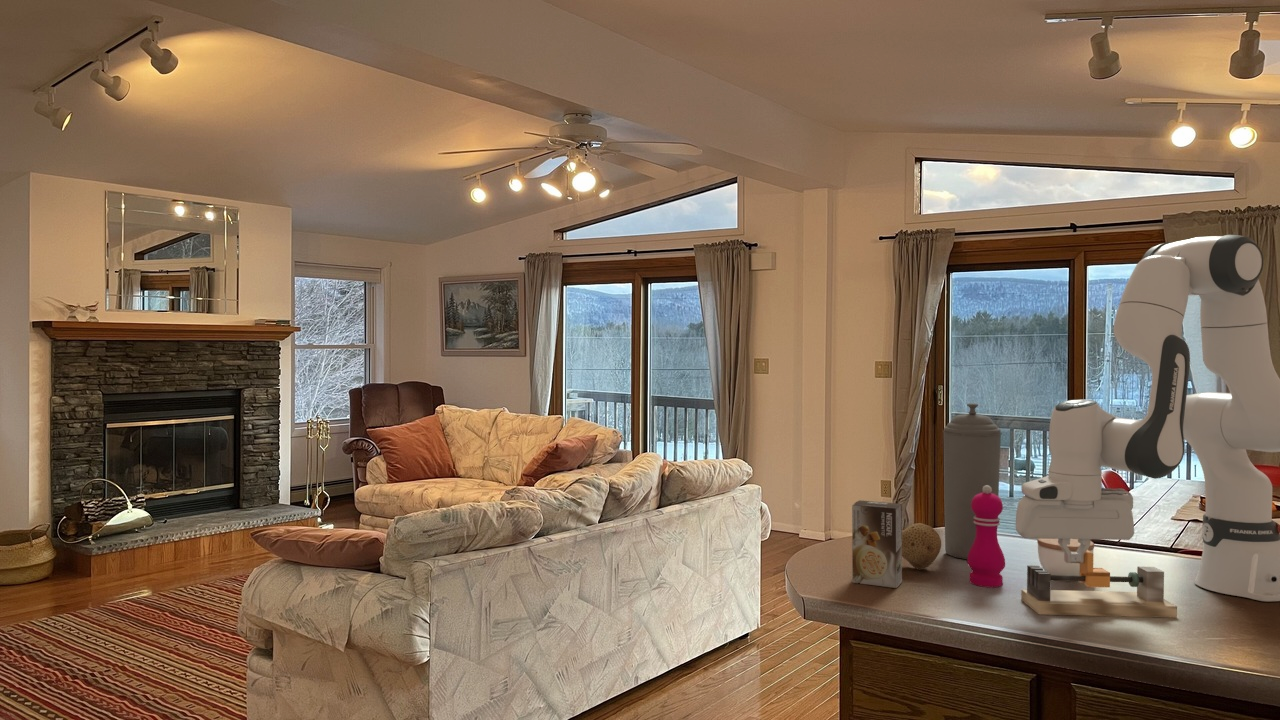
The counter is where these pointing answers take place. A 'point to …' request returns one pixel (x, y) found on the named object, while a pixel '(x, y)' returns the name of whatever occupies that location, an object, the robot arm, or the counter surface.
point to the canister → (967, 475)
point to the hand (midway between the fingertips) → (1073, 562)
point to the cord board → (1099, 595)
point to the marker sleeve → (1093, 573)
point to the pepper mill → (986, 541)
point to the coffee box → (877, 543)
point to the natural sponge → (920, 545)
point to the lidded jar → (1058, 557)
